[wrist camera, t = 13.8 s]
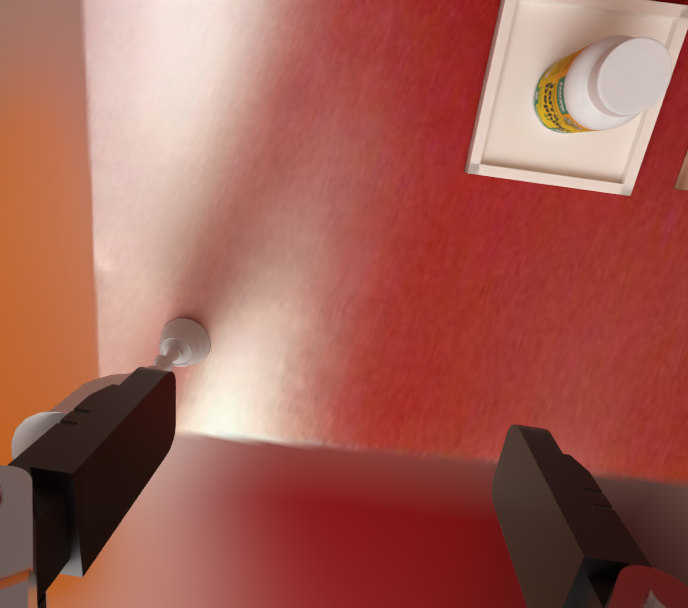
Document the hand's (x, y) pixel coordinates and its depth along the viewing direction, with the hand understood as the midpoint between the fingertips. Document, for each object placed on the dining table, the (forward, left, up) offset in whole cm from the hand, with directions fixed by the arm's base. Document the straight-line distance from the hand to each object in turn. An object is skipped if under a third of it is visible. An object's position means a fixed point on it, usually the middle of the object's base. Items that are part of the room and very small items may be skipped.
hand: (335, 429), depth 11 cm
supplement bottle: (-12, +14, -30) cm, 35 cm away
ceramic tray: (-12, +14, -30) cm, 35 cm away
